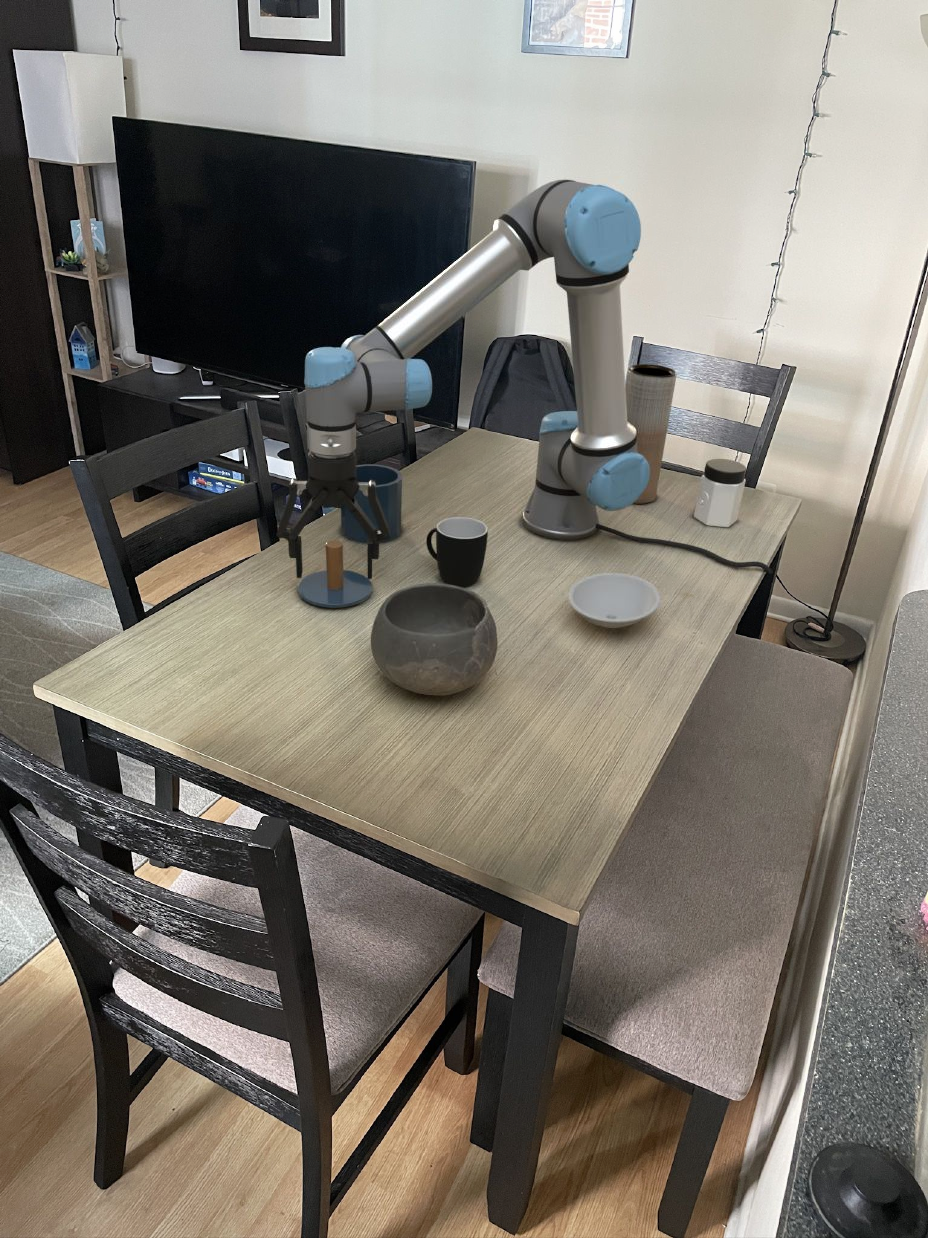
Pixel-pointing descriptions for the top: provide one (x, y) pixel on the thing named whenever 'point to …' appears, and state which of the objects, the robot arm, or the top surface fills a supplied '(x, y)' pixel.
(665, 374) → the vase
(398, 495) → the blue cylindrical container
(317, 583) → the lid
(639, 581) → the dish
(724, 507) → the jar
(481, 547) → the mug
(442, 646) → the bowl
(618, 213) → the robot arm
